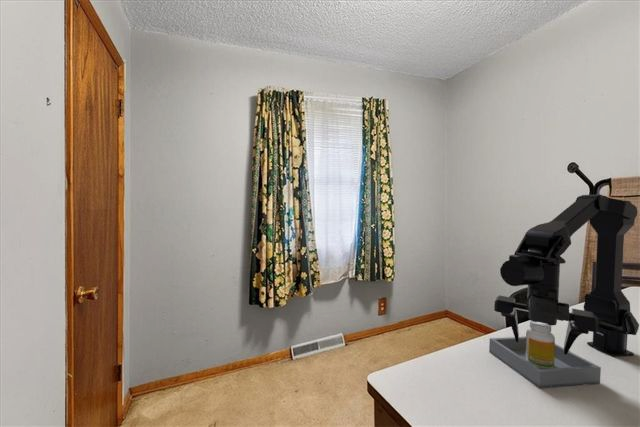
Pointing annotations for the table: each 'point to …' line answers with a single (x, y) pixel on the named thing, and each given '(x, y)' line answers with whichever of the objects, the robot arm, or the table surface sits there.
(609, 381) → the table surface
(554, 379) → the tray
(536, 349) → the supplement bottle
